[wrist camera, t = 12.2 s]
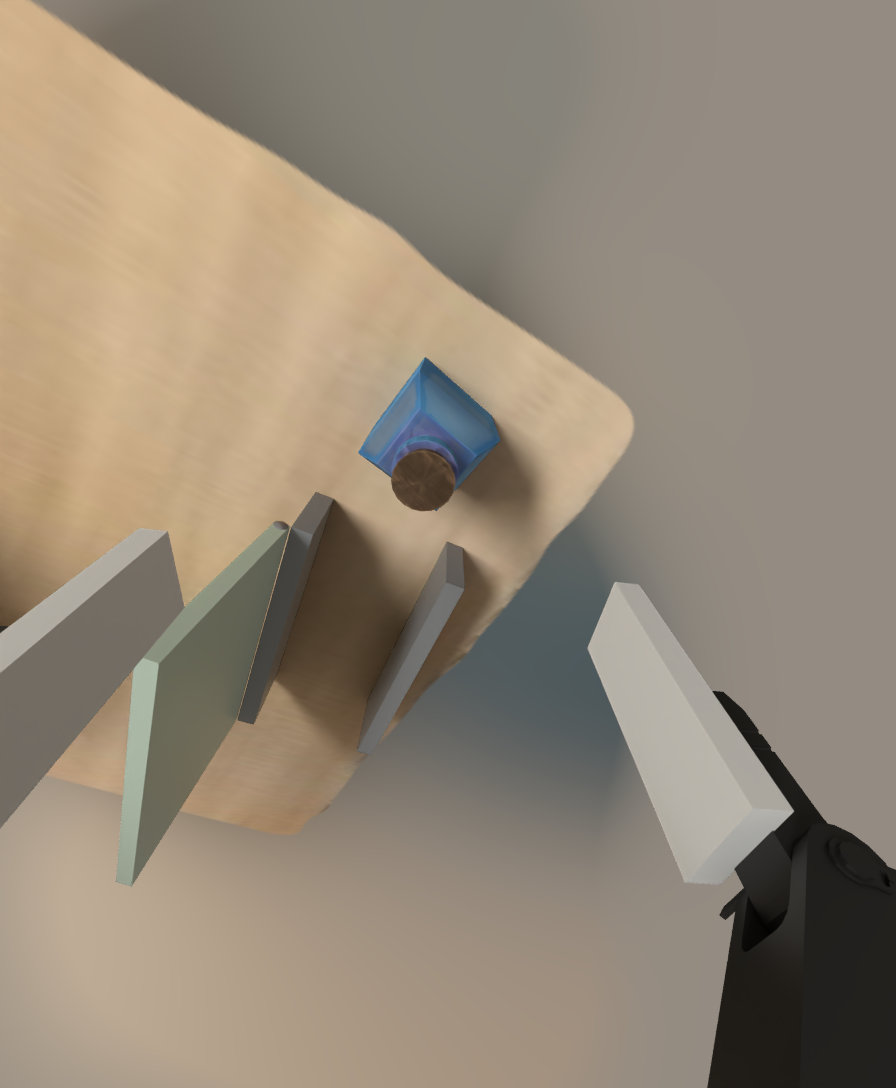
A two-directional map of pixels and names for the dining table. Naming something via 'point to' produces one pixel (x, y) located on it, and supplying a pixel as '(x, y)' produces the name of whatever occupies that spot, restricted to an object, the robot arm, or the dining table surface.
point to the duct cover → (191, 696)
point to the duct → (407, 652)
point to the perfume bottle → (430, 439)
